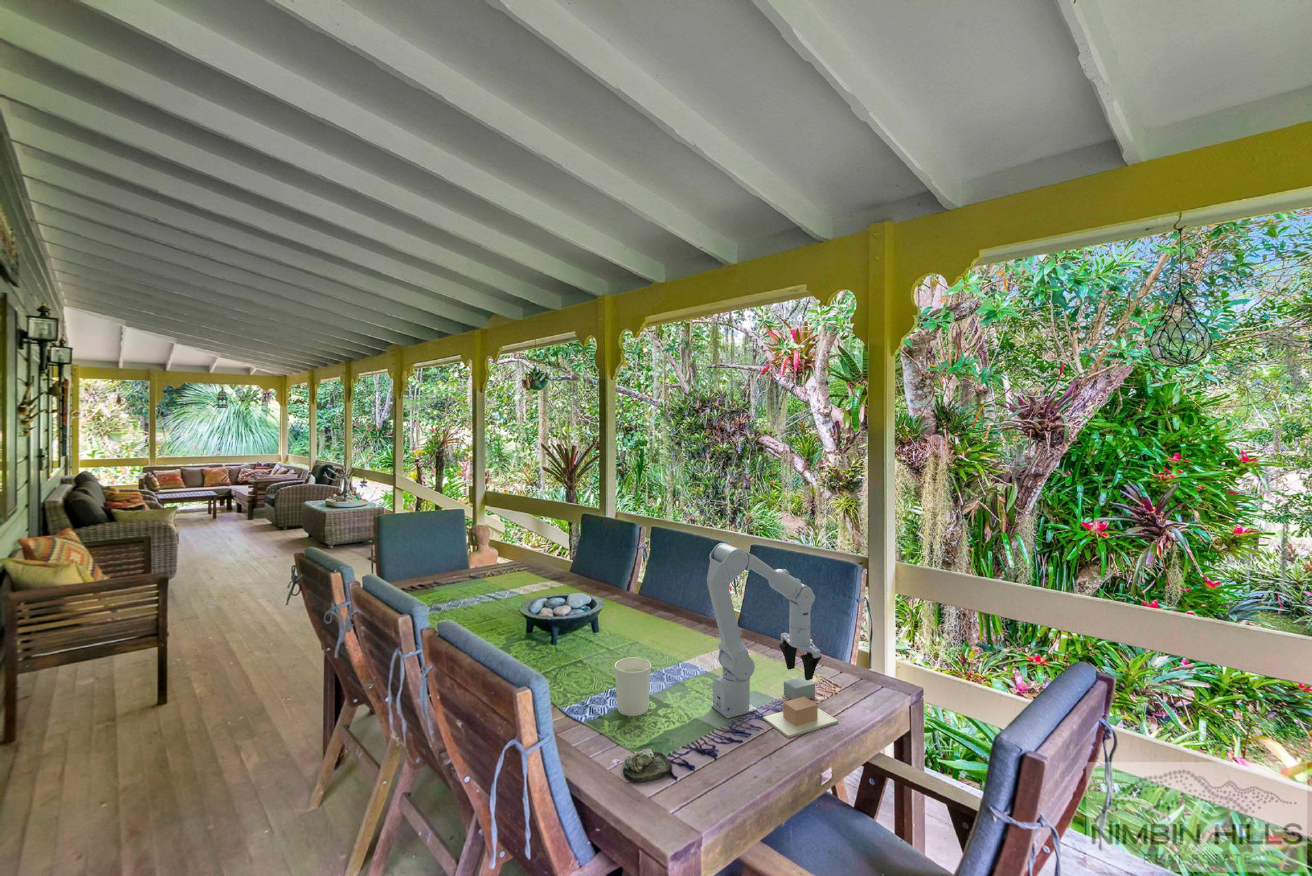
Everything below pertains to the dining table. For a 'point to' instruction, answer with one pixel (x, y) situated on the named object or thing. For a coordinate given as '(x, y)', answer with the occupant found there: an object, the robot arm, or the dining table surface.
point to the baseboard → (793, 730)
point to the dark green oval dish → (646, 766)
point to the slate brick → (799, 688)
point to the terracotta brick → (800, 711)
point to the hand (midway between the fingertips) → (799, 673)
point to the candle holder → (632, 685)
